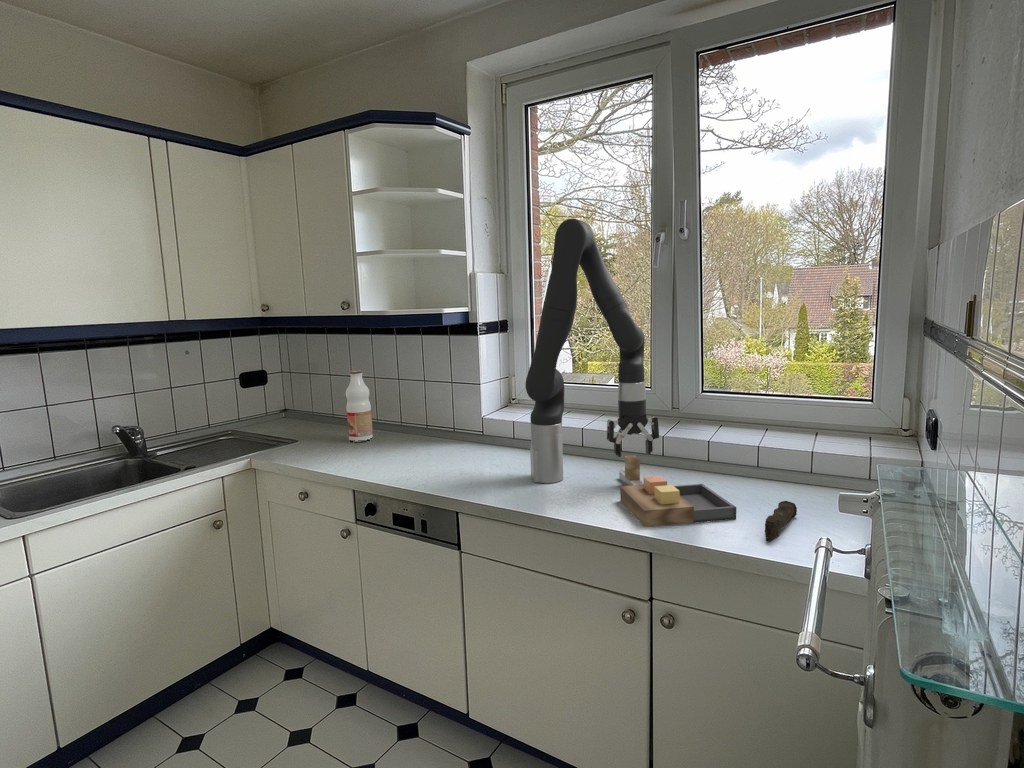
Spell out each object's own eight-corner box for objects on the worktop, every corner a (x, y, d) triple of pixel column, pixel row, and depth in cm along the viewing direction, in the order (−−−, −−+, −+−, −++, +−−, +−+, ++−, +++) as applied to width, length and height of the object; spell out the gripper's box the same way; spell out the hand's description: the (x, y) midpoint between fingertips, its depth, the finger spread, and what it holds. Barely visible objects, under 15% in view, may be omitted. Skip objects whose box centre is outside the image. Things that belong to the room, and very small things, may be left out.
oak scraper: (635, 495, 156) (635, 465, 155) (619, 479, 171) (619, 451, 170) (646, 495, 156) (646, 464, 155) (629, 478, 171) (629, 450, 170)
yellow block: (661, 504, 137) (661, 492, 137) (654, 498, 142) (654, 486, 141) (679, 502, 138) (679, 490, 137) (672, 496, 142) (672, 485, 142)
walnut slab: (644, 527, 134) (644, 510, 134) (620, 501, 152) (620, 486, 151) (693, 522, 136) (693, 506, 135) (664, 497, 153) (664, 482, 153)
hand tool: (779, 514, 140) (779, 496, 139) (796, 518, 137) (797, 499, 136) (753, 541, 125) (753, 521, 125) (772, 545, 123) (773, 524, 122)
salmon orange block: (649, 494, 145) (649, 482, 144) (643, 488, 149) (643, 477, 149) (667, 492, 145) (667, 481, 145) (660, 487, 150) (660, 475, 149)
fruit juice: (368, 442, 226) (363, 371, 222) (345, 443, 227) (339, 372, 223) (376, 437, 235) (371, 368, 231) (353, 437, 236) (348, 369, 232)
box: (693, 522, 136) (693, 510, 135) (664, 497, 153) (664, 486, 153) (736, 519, 137) (736, 507, 136) (702, 494, 155) (702, 483, 154)
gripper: (651, 394, 164) (653, 449, 166) (603, 397, 163) (604, 453, 165) (661, 398, 157) (663, 456, 159) (610, 401, 155) (612, 460, 157)
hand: (633, 455), depth 162 cm, fingers open, 8 cm apart
